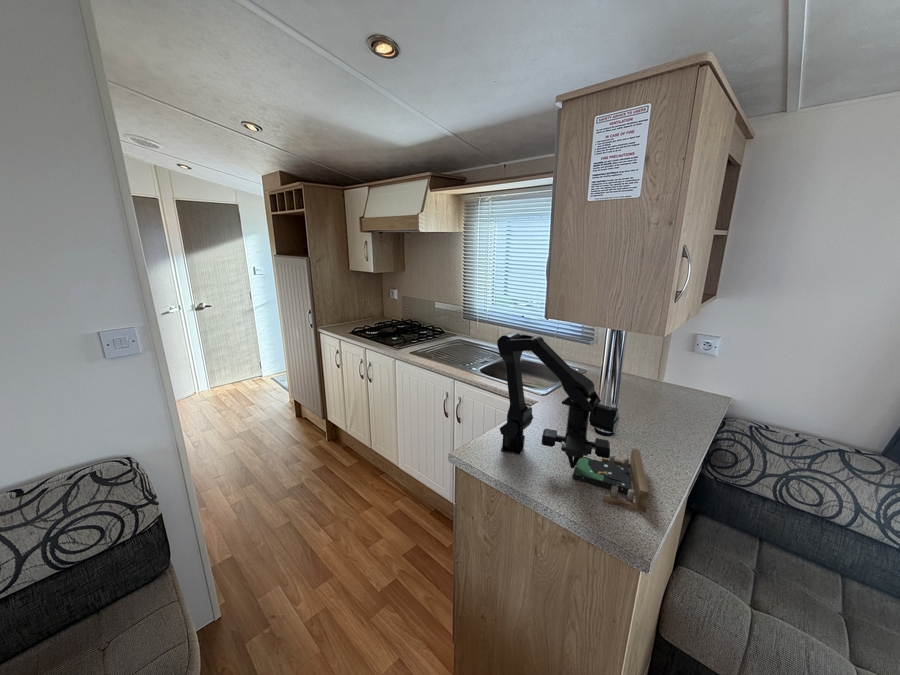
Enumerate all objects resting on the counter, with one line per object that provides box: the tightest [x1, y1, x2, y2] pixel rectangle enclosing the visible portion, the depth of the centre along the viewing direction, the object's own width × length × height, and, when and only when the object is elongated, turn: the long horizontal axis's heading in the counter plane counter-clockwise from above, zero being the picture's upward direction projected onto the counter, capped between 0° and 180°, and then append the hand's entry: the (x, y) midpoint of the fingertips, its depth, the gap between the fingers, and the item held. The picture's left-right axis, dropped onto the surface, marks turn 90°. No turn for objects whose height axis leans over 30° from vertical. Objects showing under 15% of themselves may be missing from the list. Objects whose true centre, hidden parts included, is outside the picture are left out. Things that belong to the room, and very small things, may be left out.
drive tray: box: [601, 448, 650, 513], centre depth 100 cm, size 10×20×6 cm, turn 159°
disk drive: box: [572, 456, 631, 496], centre depth 104 cm, size 10×3×15 cm
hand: (572, 467), depth 106 cm, fingers closed
